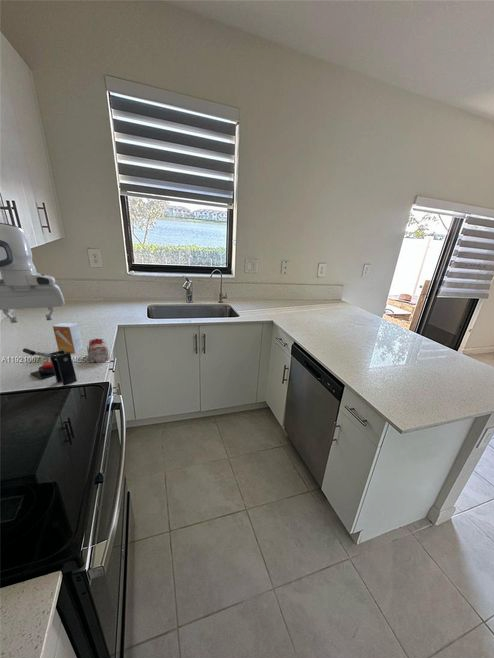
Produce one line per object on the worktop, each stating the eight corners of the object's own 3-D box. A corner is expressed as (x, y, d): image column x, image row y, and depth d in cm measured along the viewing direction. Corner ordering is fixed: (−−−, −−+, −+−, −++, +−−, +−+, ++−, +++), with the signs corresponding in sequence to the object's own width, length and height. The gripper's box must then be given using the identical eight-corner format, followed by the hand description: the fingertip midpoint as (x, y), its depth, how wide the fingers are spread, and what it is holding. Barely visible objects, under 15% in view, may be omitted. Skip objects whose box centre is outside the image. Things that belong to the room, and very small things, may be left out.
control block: (42, 383, 109) (40, 373, 107) (31, 378, 112) (28, 368, 111) (70, 373, 117) (68, 364, 115) (59, 369, 120) (57, 360, 119)
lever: (29, 356, 93) (31, 349, 93) (21, 353, 95) (23, 346, 95) (67, 363, 104) (69, 356, 104) (59, 360, 106) (62, 354, 106)
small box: (58, 352, 137) (51, 326, 133) (67, 348, 143) (61, 322, 138) (75, 353, 137) (69, 326, 132) (83, 348, 143) (78, 323, 138)
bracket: (57, 394, 101) (48, 361, 96) (43, 388, 105) (33, 355, 100) (90, 381, 111) (84, 350, 106) (77, 376, 115) (69, 346, 110)
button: (46, 370, 111) (45, 366, 110) (41, 368, 112) (40, 364, 112) (56, 367, 114) (55, 363, 113) (51, 365, 115) (50, 361, 115)
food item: (111, 363, 128) (107, 342, 124) (90, 367, 124) (85, 345, 120) (108, 353, 138) (104, 334, 134) (88, 356, 134) (84, 336, 130)
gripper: (-27, 281, 85) (-11, 326, 90) (58, 279, 95) (67, 320, 100) (-21, 278, 90) (-7, 322, 95) (59, 277, 100) (68, 316, 105)
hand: (32, 321), depth 97 cm, fingers open, 8 cm apart
